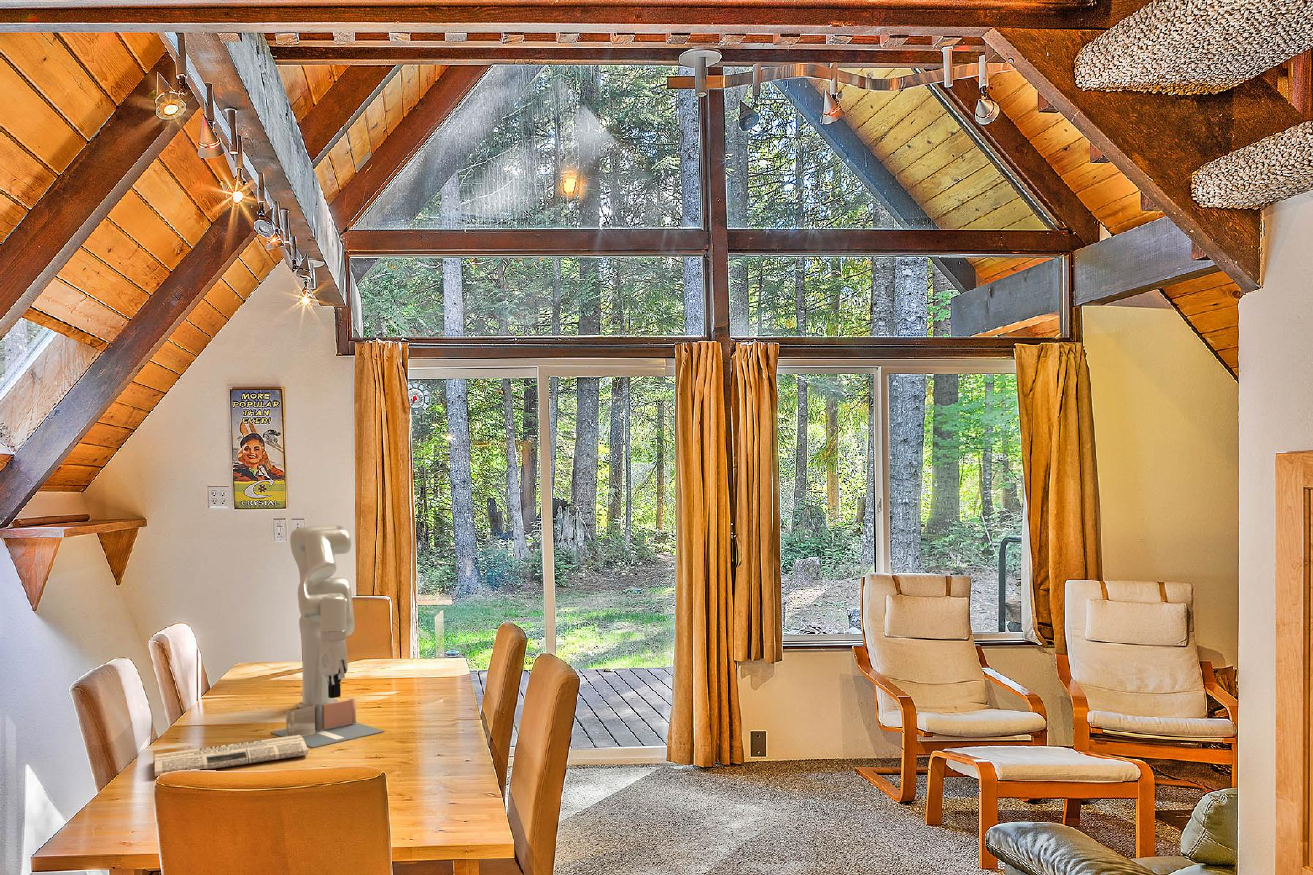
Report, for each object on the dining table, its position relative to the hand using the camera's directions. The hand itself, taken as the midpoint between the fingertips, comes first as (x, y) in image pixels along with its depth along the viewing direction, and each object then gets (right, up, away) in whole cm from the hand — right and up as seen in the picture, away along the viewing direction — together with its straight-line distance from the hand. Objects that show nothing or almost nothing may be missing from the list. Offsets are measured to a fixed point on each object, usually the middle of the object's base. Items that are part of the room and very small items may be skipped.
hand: (334, 697), depth 305 cm
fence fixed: (-6, -8, -13) cm, 16 cm away
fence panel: (+2, -7, -5) cm, 9 cm away
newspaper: (-16, -8, -36) cm, 40 cm away
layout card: (0, -8, -10) cm, 13 cm away
